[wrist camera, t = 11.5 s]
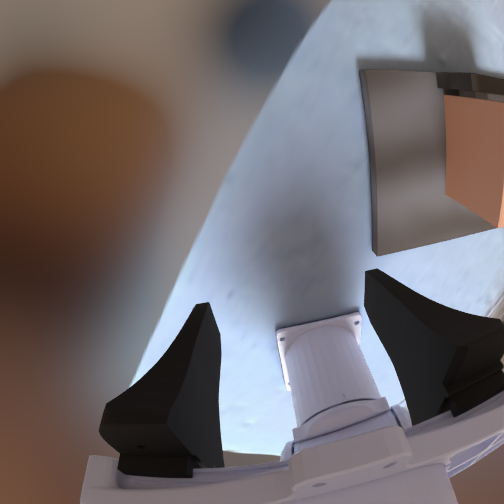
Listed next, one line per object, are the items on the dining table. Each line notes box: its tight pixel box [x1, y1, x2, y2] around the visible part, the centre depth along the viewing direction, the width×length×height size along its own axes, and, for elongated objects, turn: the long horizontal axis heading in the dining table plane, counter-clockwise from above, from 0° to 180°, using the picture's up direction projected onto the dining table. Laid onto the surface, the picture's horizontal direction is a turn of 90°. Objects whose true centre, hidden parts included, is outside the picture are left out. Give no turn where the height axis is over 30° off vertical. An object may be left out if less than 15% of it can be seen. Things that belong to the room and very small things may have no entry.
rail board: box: [359, 70, 504, 256], centre depth 17 cm, size 14×18×5 cm
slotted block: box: [444, 95, 504, 228], centre depth 15 cm, size 8×5×6 cm, turn 10°
